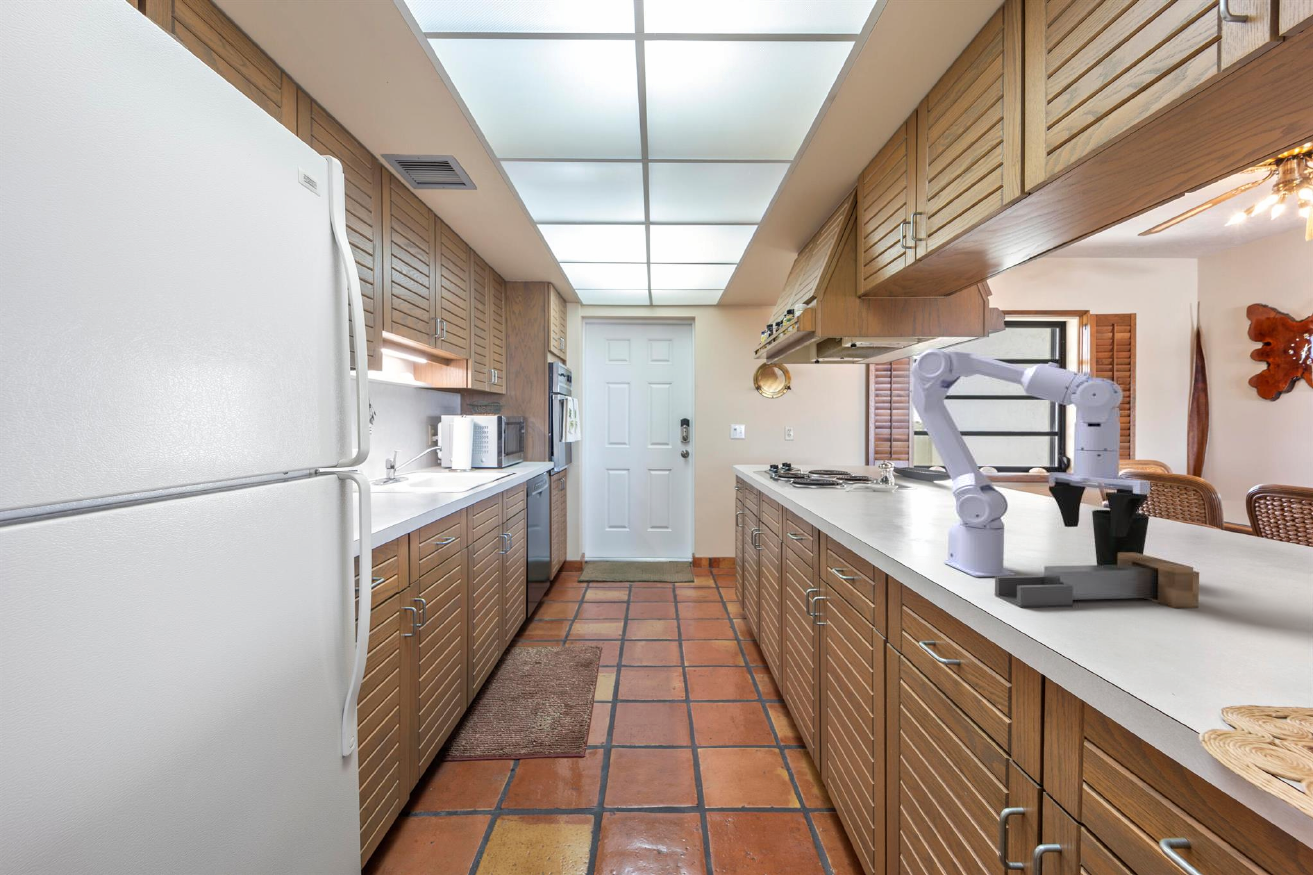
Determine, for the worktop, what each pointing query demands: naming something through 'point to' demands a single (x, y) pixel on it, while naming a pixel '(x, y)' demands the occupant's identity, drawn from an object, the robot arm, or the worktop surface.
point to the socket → (1169, 580)
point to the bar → (1106, 580)
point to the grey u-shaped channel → (1032, 592)
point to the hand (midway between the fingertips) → (1093, 531)
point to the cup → (1111, 545)
